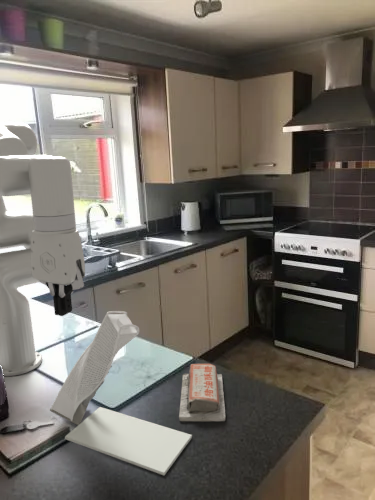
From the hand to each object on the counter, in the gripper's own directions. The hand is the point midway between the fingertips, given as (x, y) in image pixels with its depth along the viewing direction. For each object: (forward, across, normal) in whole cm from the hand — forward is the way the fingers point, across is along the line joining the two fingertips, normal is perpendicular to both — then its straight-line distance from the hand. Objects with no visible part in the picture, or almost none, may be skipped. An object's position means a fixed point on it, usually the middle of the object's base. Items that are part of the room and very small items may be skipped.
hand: (63, 313), depth 83 cm
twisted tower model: (+22, -2, 0) cm, 22 cm away
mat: (+24, +14, 0) cm, 28 cm away
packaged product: (+25, +22, +19) cm, 38 cm away
